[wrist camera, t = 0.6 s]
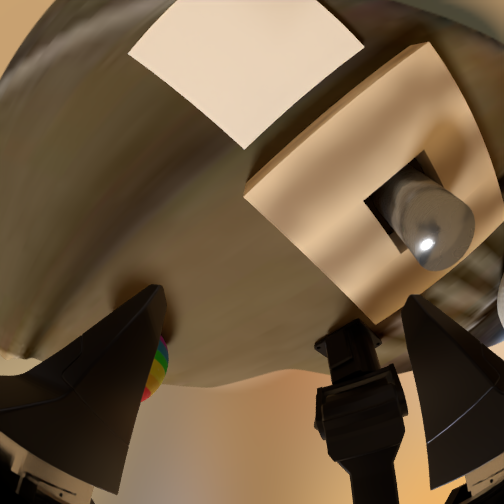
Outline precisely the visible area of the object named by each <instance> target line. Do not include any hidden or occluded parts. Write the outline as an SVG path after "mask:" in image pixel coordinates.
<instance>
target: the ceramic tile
mask: <svg viewBox="0 0 504 504" xmlns="http://www.w3.org/2000/svg"><path fill="white" fill-rule="evenodd" d="M363 48H364V46H363V45H362V44H361V43H360V42H359V40H358V39H357V38H356V37H355V36H354V35H353V34H352V33H351V32H350V31H349V30H348V29H347V28H346V27H345V26H344V25H343V24H342V23H341V22H340V21H339V20H338V19H337V18H336V17H334V16H333V15H332V14H331V13H330V12H329V11H328V10H327V9H326V8H325V7H323V6H322V5H321V4H320V3H319V2H318V1H316V0H177V1H176V2H175V3H174V4H173V5H172V6H171V7H170V8H169V9H168V10H167V11H166V12H165V13H164V14H163V15H162V16H161V17H160V18H159V19H158V20H157V21H156V22H155V23H154V24H153V25H152V26H151V27H150V28H149V30H148V31H147V32H146V33H145V34H144V35H143V36H142V38H141V39H140V40H139V41H138V42H137V43H136V45H135V46H134V47H133V48H132V49H131V51H130V52H129V53H128V54H129V55H130V56H132V57H133V58H134V59H136V60H137V61H139V62H140V63H141V64H143V65H144V66H145V67H147V68H148V69H149V70H151V71H152V72H153V73H155V74H156V75H157V76H158V77H160V78H161V79H162V80H164V81H165V82H166V83H167V84H169V85H170V86H171V87H172V88H174V89H175V90H176V91H177V92H179V93H180V94H181V95H182V96H184V97H185V98H186V99H187V100H188V101H190V102H191V103H192V104H193V105H194V106H196V107H197V108H198V109H199V110H200V111H202V112H203V113H204V114H205V115H206V116H207V117H209V118H210V119H211V120H212V121H213V122H214V123H216V124H217V125H218V126H219V127H220V128H221V129H222V130H224V131H225V132H226V133H227V134H228V135H229V136H230V137H231V138H232V139H234V140H235V141H236V142H237V143H238V144H239V145H240V146H241V147H242V148H243V149H244V150H245V149H246V148H247V147H248V146H249V145H250V144H251V143H252V142H253V141H254V140H255V139H256V138H257V137H258V136H259V135H260V134H261V133H262V132H263V131H265V130H266V129H267V128H268V127H269V126H270V125H271V124H272V123H273V122H274V121H275V120H276V119H278V118H279V117H280V116H281V115H282V114H283V113H284V112H285V111H286V110H288V109H289V108H290V107H291V106H292V105H293V104H294V103H296V102H297V101H298V100H299V99H300V98H301V97H303V96H304V95H305V94H306V93H307V92H308V91H310V90H311V89H312V88H313V87H314V86H316V85H317V84H318V83H319V82H320V81H322V80H323V79H324V78H325V77H327V76H328V75H329V74H330V73H332V72H333V71H334V70H335V69H337V68H338V67H339V66H340V65H342V64H343V63H344V62H346V61H347V60H348V59H349V58H351V57H352V56H353V55H355V54H356V53H357V52H359V51H360V50H362V49H363Z"/></svg>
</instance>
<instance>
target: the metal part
mask: <svg viewBox="0 0 504 504" xmlns="http://www.w3.org/2000/svg"><path fill="white" fill-rule="evenodd" d="M372 200H373V203H374V205H375V207H376V209H377V210H378V211H379V212H380V213H381V215H382V216H383V217H384V218H385V219H386V221H387V222H388V223H389V224H390V226H391V227H392V228H393V229H394V231H395V232H396V233H397V234H398V236H399V237H400V238H401V240H402V241H403V242H404V243H405V245H406V246H407V247H408V249H409V250H410V251H411V253H412V254H413V256H414V257H415V258H416V260H417V261H418V262H419V264H420V265H421V266H422V267H423V268H425V269H426V270H429V271H441V270H444V269H447V268H449V267H451V266H452V265H454V264H455V263H456V262H458V261H459V260H460V259H461V258H462V257H463V255H464V254H465V253H466V251H467V250H468V248H469V246H470V244H471V242H472V239H473V236H474V232H475V218H474V214H473V212H472V210H471V208H470V207H469V206H468V205H467V204H465V203H464V202H463V201H462V200H460V199H459V198H458V197H456V196H455V195H453V194H452V193H451V192H449V191H448V190H446V189H445V188H444V187H442V186H441V185H439V184H438V183H436V182H435V181H433V180H432V179H430V178H429V177H427V176H426V175H424V174H423V173H421V172H420V171H418V170H416V169H415V168H413V167H412V166H410V165H408V164H406V165H405V166H404V167H403V168H402V169H401V170H399V171H398V172H397V173H396V174H395V175H393V176H392V177H391V178H390V179H389V180H387V181H386V182H385V183H384V184H383V185H381V186H380V187H379V188H378V189H377V190H375V191H374V192H373V193H372Z"/></svg>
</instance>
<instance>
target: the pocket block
mask: <svg viewBox="0 0 504 504" xmlns="http://www.w3.org/2000/svg"><path fill="white" fill-rule="evenodd" d="M415 157H416V159H417V161H418V162H419V164H420V166H421V168H422V169H423V171H424V173H425V175H426V176H427V177H429V178H430V179H432V180H433V181H435V182H436V183H438V184H439V185H441V186H442V187H444V188H445V189H446V190H448V191H449V192H451V193H452V194H453V195H455V196H456V197H458V198H459V199H460V200H462V201H463V202H464V203H465V204H467V205H468V206H469V207H470V208H471V210H472V212H473V214H474V218H475V232H474V236H473V239H472V242H471V244H470V246H469V248H468V250H467V251H466V253H465V254H464V255H463V257H462V258H461V259H460V260H459V261H458V262H456V263H455V264H454V265H452V266H451V267H449V268H447V269H444V270H441V271H429V270H426V269H425V268H423V267H422V266H421V265H420V264H419V262H418V261H417V260H416V258H415V257H414V256H413V254H412V253H411V251H410V250H409V249H408V247H407V246H406V245H405V243H404V242H403V241H402V240H401V238H400V237H399V236H398V234H397V233H396V232H395V231H394V232H393V233H392V234H390V235H389V236H388V235H387V233H386V232H385V230H384V229H383V227H382V226H381V225H380V223H379V222H378V220H377V219H376V218H375V216H374V215H373V214H372V212H371V211H370V210H369V208H368V207H367V206H366V204H365V203H364V202H363V200H365V199H366V198H367V197H368V196H369V195H371V194H372V193H373V192H374V191H375V190H377V189H378V188H379V187H380V186H381V185H383V184H384V183H385V182H386V181H387V180H389V179H390V178H391V177H392V176H393V175H395V174H396V173H397V172H398V171H399V170H401V169H402V168H403V167H404V166H405V165H406V164H408V163H409V162H410V161H411V160H412V159H413V158H415ZM243 197H244V198H245V199H246V200H247V201H248V202H249V203H250V204H252V205H253V206H254V207H255V208H256V209H257V210H258V211H259V212H260V213H261V214H262V215H264V216H265V217H266V218H267V219H268V220H269V221H270V222H271V223H272V224H273V225H274V226H275V227H276V228H278V229H279V230H280V231H281V232H282V233H283V234H284V235H285V236H286V237H287V238H288V239H289V240H290V241H291V242H292V243H293V244H294V245H296V246H297V247H298V248H299V249H300V250H301V251H302V252H303V253H304V254H305V255H306V256H307V257H308V258H309V259H310V260H311V261H312V262H313V263H314V264H315V265H316V266H317V267H318V268H319V269H320V270H321V271H322V272H323V273H325V274H326V275H327V276H328V277H329V278H330V279H331V280H332V281H333V282H334V283H335V284H336V285H337V286H338V287H339V288H340V289H341V290H342V291H343V292H344V293H345V294H346V295H347V296H348V297H349V298H350V299H351V300H352V301H353V302H354V303H355V304H356V305H357V306H358V307H359V308H360V309H361V310H362V311H363V312H364V313H365V315H366V316H367V317H368V318H369V319H370V320H371V321H372V322H373V323H374V324H375V325H376V324H378V323H379V322H381V321H382V320H384V319H385V318H387V317H388V316H390V315H391V314H393V313H394V312H396V311H397V310H399V309H400V308H401V307H403V306H404V305H405V302H406V300H407V298H408V296H409V295H411V294H419V295H420V294H421V293H422V292H424V291H425V290H426V289H428V288H429V287H430V286H431V285H433V284H434V283H435V282H437V281H438V280H439V279H440V278H442V277H443V276H444V275H445V274H447V273H448V272H449V271H450V270H451V269H453V268H454V267H455V266H456V265H457V264H459V263H460V262H461V261H462V260H463V259H464V258H465V257H467V256H468V255H469V254H470V253H471V252H472V251H473V250H474V249H475V248H477V247H478V246H479V245H480V244H481V243H482V242H483V241H484V240H485V239H486V238H487V237H488V236H489V235H490V234H491V233H492V232H493V231H494V230H495V229H496V228H497V227H498V226H499V225H500V224H501V223H502V222H503V221H504V203H503V199H502V195H501V192H500V188H499V184H498V181H497V178H496V174H495V171H494V168H493V165H492V162H491V159H490V156H489V154H488V151H487V148H486V146H485V143H484V140H483V138H482V135H481V133H480V131H479V128H478V126H477V124H476V122H475V119H474V117H473V115H472V113H471V111H470V109H469V107H468V105H467V103H466V101H465V99H464V97H463V95H462V93H461V91H460V90H459V88H458V86H457V84H456V82H455V81H454V79H453V77H452V76H451V74H450V72H449V71H448V69H447V67H446V66H445V64H444V63H443V61H442V60H441V58H440V57H439V55H438V54H437V52H436V51H435V49H434V48H433V46H432V45H431V44H430V42H425V43H420V44H415V45H411V46H409V47H407V48H406V49H404V50H403V51H402V52H400V53H399V54H398V55H396V56H395V57H393V58H392V59H391V60H389V61H388V62H387V63H385V64H384V65H383V66H381V67H380V68H379V69H378V70H376V71H375V72H374V73H372V74H371V75H370V76H369V77H367V78H366V79H365V80H363V81H362V82H361V83H360V84H358V85H357V86H356V87H355V88H353V89H352V90H351V91H350V92H348V93H347V94H346V95H345V96H344V97H342V98H341V99H340V100H339V101H337V102H336V103H335V104H334V105H333V106H331V107H330V108H329V109H328V110H327V111H325V112H324V113H323V114H322V115H321V116H320V117H318V118H317V119H316V120H315V121H314V122H313V123H311V124H310V125H309V126H308V127H307V128H306V129H305V130H303V131H302V132H301V133H300V134H299V135H298V136H297V137H295V138H294V139H293V140H292V141H291V142H290V143H289V144H288V145H287V146H285V147H284V148H283V149H282V150H281V151H280V152H279V153H278V154H277V155H275V156H274V157H273V158H272V159H271V160H270V161H269V162H268V163H267V164H266V165H265V166H264V167H262V168H261V169H260V170H259V171H258V172H257V173H256V174H255V175H254V176H253V177H252V178H251V179H250V180H249V181H248V182H247V183H246V185H245V190H244V195H243Z"/></svg>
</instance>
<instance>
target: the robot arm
mask: <svg viewBox="0 0 504 504" xmlns="http://www.w3.org/2000/svg"><path fill="white" fill-rule="evenodd" d="M166 307H167V304H166V299H165V294H164V289H163V287H162V286H161V285H155V284H151V285H149V286H148V287H146V288H145V289H144V290H142V291H141V292H139V293H138V294H137V295H135V296H134V297H132V298H131V299H130V300H128V301H127V302H125V303H124V304H123V305H121V306H120V307H119V308H117V309H116V310H114V311H113V312H112V313H110V314H109V315H108V316H106V317H105V318H104V319H102V320H101V321H99V322H98V323H97V324H95V325H94V326H93V327H91V328H90V329H89V330H87V331H86V332H85V333H83V334H82V336H79V337H78V338H77V339H75V340H74V341H73V342H71V343H70V344H69V345H67V346H66V347H64V348H63V349H62V350H60V351H59V352H57V353H56V354H54V355H53V356H51V357H49V358H48V359H46V360H45V361H43V362H42V363H40V364H39V365H37V366H35V367H34V368H32V369H31V370H29V371H27V372H25V373H23V374H20V375H15V376H0V504H95V503H94V502H93V500H92V498H91V496H92V492H93V488H94V486H95V487H97V488H100V489H102V490H105V491H107V492H110V493H112V494H115V495H117V494H118V491H119V486H120V482H121V477H122V473H123V468H124V464H125V460H126V456H127V452H128V448H129V447H128V445H129V443H130V439H131V435H132V432H133V428H134V424H135V420H136V417H137V413H138V410H139V406H140V403H141V400H142V396H143V393H144V389H145V386H146V383H147V380H148V376H149V373H150V370H151V367H152V364H153V361H154V357H155V354H156V351H157V348H158V345H159V340H160V336H161V331H162V326H163V322H164V317H165V313H166ZM401 317H402V322H403V328H404V333H405V339H406V344H407V350H408V354H409V358H410V362H411V366H412V370H413V374H414V378H415V382H416V387H417V392H418V396H419V401H420V406H421V412H422V417H423V424H424V430H425V437H426V443H427V454H428V464H429V477H430V489H431V490H433V489H436V488H438V487H441V486H443V485H445V484H447V483H450V482H452V481H454V480H456V479H458V478H460V477H462V476H464V475H465V478H466V483H465V484H463V485H461V486H459V487H457V488H455V489H453V490H452V492H451V493H450V495H449V497H448V499H447V500H446V502H445V504H504V360H502V359H501V358H500V357H498V356H497V355H496V354H495V353H493V352H492V351H491V350H490V349H489V348H487V347H486V346H485V345H484V344H483V343H481V342H480V341H479V340H478V339H476V338H475V337H474V336H473V335H472V334H470V333H469V332H468V331H467V330H465V329H464V328H463V327H462V326H460V325H459V324H458V323H456V322H455V321H454V320H453V319H451V318H450V317H449V316H447V315H446V314H445V313H444V312H442V311H441V310H440V309H438V308H437V307H436V306H434V305H433V304H432V303H430V302H429V301H428V300H426V299H425V298H424V297H422V296H421V295H419V294H411V295H409V296H408V298H407V300H406V302H405V305H404V307H403V309H402V312H401ZM381 344H382V341H381V339H380V338H379V337H378V336H377V335H376V334H375V333H374V332H373V331H372V330H371V329H370V328H369V327H368V326H367V325H366V324H364V323H363V322H362V321H361V320H360V319H356V320H354V321H353V322H351V323H349V324H348V325H346V326H345V327H343V328H341V329H340V330H338V331H336V332H335V333H333V334H331V335H330V336H328V337H326V338H325V339H323V340H321V341H319V342H318V343H316V344H315V345H314V348H315V350H316V351H318V352H319V353H321V354H322V355H324V356H325V357H327V358H328V364H329V368H330V374H331V381H332V385H330V386H327V387H323V388H322V387H320V388H317V395H316V417H315V422H314V427H315V429H316V430H318V431H319V433H320V435H321V437H322V439H323V440H326V443H327V449H328V455H329V456H330V457H331V458H332V460H333V461H334V462H338V463H339V465H340V466H341V467H342V468H344V470H345V471H346V472H347V473H348V474H349V475H350V481H351V489H352V497H353V504H399V498H398V490H397V482H396V475H395V469H394V460H395V457H396V455H397V452H398V450H399V447H400V444H401V442H402V439H403V436H404V433H405V426H404V422H403V417H404V416H407V415H408V408H407V404H406V399H405V395H404V392H403V388H402V386H401V383H400V380H399V377H398V375H397V372H396V369H395V367H394V364H393V363H392V364H390V365H389V366H387V367H384V368H381V367H380V363H379V360H378V357H377V354H376V350H375V348H376V347H378V346H380V345H381Z"/></svg>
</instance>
